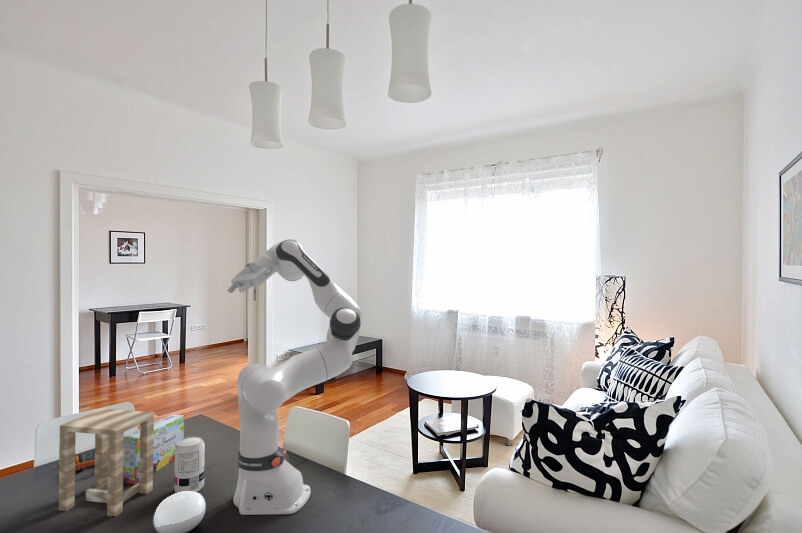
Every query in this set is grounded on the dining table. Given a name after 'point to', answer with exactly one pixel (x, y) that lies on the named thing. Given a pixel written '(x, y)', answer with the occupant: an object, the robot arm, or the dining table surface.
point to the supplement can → (189, 464)
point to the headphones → (82, 461)
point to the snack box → (163, 447)
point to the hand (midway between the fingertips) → (234, 291)
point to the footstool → (106, 457)
